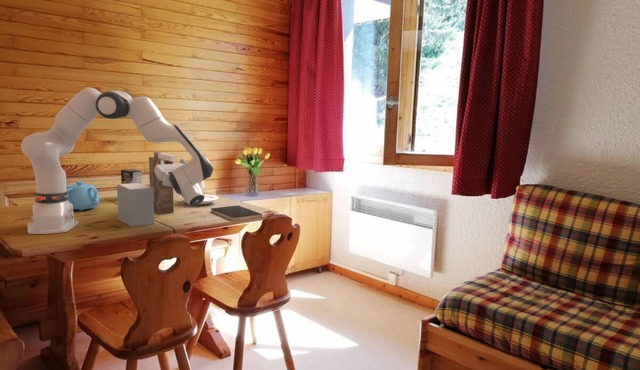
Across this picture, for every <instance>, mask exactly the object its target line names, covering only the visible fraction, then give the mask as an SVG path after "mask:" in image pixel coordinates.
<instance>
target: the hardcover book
mask: <svg viewBox="0 0 640 370" xmlns="http://www.w3.org/2000/svg"><path fill="white" fill-rule="evenodd" d="M210 210H211V213H213V214H215V215H216V214H217V215H218V216H221V217H223V218H225V219H228V220H230V221H233V222H234V221H242V220H249V219H257V218H258V219H259V218H263V214H262V213H261V212H258V211H255V210H252V209H249V208H246V207H243V206H240V205H238V204H237V205H231V206H230V205H229V206H222V207H220V206H219V207H211V208H210Z"/></svg>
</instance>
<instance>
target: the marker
mask: <svg viewBox="0 0 640 370" xmlns="http://www.w3.org/2000/svg"><path fill="white" fill-rule="evenodd" d="M153 157H154V158H158V159H163V160H167V161H171V162H173V163H174V162H177V160H178V159H177V158H178V156H177V155H176V154H170V153H164V152H160V151H155V152H153Z"/></svg>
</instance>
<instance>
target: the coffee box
mask: <svg viewBox="0 0 640 370" xmlns="http://www.w3.org/2000/svg"><path fill="white" fill-rule="evenodd" d="M120 179H121V180H120V182H121V183H120V184H129V183H141V184H142V170H138V169H132V168H130V169H121V170H120Z"/></svg>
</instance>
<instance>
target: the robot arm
mask: <svg viewBox="0 0 640 370" xmlns="http://www.w3.org/2000/svg"><path fill="white" fill-rule="evenodd" d="M98 115H100V116H102V117H103V118H106V119H109V120H116V119H121V118H125V117H128V118H129V119H131V120H132V122H134V124H135V126H136V127H137V129H138V131H139V132H140V134H141V135H142V136H143V138H144V139H145V140H147V142H151V143H159V144H160V143H167V142H176V143H179V144H180V145H182V146H183V148H184V149H185V151H187V152H188V153H189V155H190V156H191V158H192V159H191V160H190V161H186V160H185V159H184V158H182V159H181V158H180V160H179V163H173V164H165V161H164V160H161V161H160V163H161V165H156V166H155V169H154V172H155V174H156V176H157V177H158V178H159V180H161V181H163V185H164V186H170V187H173V191H175V193H176V194H178V195H180V196H182V197H183V198H184V200H185V201H186V202H187V203H186V202H185V203H186V204H187V205H188V206H190V207H195V206H198V205H201V204H200V203H201V202H202V201H203V200H204V198H205V196H204V194H205V193H204V191H203V190H202V189H201V187H200V185H199V184H198V182H200V181H204V180H207V179H210V178H211V177H212V174H213V172H214V167H213V164H212V162H211V160H210V159H208V158H207V157H206V156H205V155H204V154H203V152H201V151H200V150H199V148H198V147H197V146H196V145H195V144H194V142H193V141H192V140H191V139H190V137H189V136H188V135H187V134H186V133H185V132H184V131H183V129H182V128H180V127H179V126H178V125H176V124H171V123H170V122H168V121H167V120H166V119H165V117H164V116H163V114H162V113H161V111H160V110H159V108H158V107H157V106H156V104H155V103H154V102H153V100H152V99H151V98H149V97H148V96H146V95H145V96H138V97H134V96H133V95H132V94H131V93H130V92H128V91H126V90H118V89H116V90H111V91H110V90H109V91H105V92H100V91H99V90H97V89H96V88H94V87H89V86H88V87H85V88H83V89H82V90H80V91H79V92H77V93H76V94H75V95H74V96H73V97H72V98H70V100H68V102H67V103H66V104H64V106H63V107H62V108H61V110H59V112H58V113H56V114H55V118H54V119H55V120H54V123H53V124H52V127H51V128H50V129H49V130H47V131H41V132H39V131H38V132H34V133H31V134H29V135H27V136H25V137H24V138H23V139H22V142H21V146H20V147H21V150H22V153H23V154H24V156H26V157H27V158H28V160H29V161H30V163H31V166H32V169H33V172H34V178H35V180H34V181H35V191H36V192H35V193H34V201H35V203H34V204H33V205H32V216H30V220H31V221H33V222H28V223H27V224H26V225H27V227H26V228H27V234H28V235H49V234H61V233H66V232H69V231H70V230H72V229H73V228H74V227H76V226H78V225H79V220H75V218H74V217H75V216H74V209H73V205H72V204H71V203H70V202H69V201H68V191H67V186H66V185H67V173H66V171H65V170H64V169H63V168H62V166H61V162H60V160H59V159H60V158H62V157H65V156H67V155H69V154H70V153H72V151H73V150H74V148H75V143H76V142H77V139H78V138H79V136H80V135H81V134H82V132H83V131H84V130H85V129H86V128H87V127H88V126H89V125H90V124H91V122H93V120H95V118H97V116H98Z"/></svg>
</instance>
